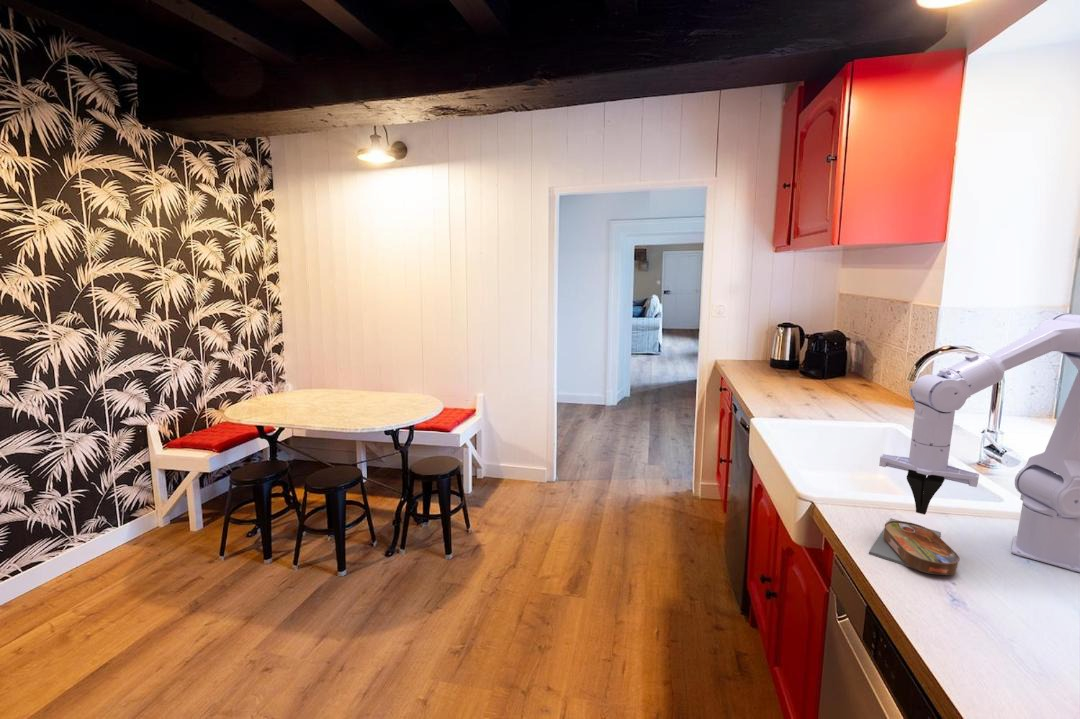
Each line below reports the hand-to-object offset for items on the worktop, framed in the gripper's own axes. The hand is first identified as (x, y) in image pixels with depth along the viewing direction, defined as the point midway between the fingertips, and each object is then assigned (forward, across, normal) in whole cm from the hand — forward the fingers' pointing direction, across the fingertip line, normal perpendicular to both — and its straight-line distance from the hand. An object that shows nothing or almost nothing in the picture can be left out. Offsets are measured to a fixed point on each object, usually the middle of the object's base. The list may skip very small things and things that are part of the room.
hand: (921, 511), depth 98 cm
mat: (+8, -2, +1) cm, 8 cm away
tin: (+6, +4, 0) cm, 7 cm away
